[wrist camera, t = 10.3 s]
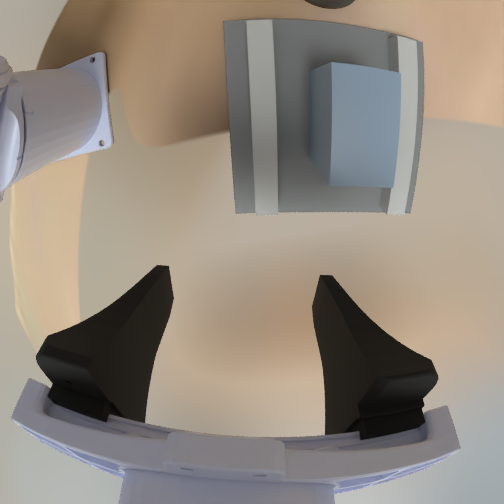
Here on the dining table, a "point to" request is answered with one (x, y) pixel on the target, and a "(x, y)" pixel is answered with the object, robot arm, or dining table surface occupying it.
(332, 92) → the blue-grey block
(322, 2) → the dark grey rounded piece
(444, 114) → the dining table surface
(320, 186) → the grey railed square plate
